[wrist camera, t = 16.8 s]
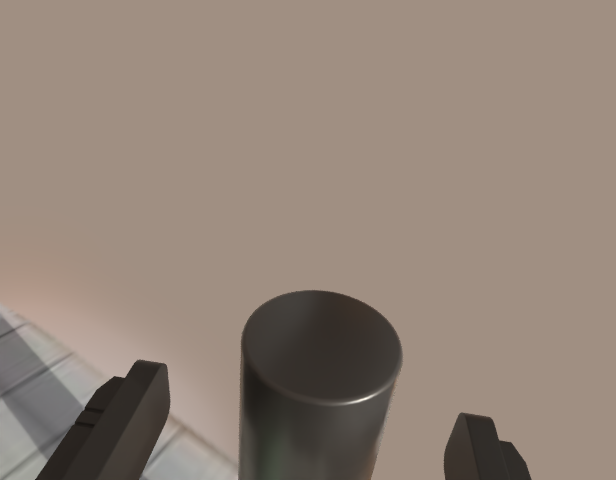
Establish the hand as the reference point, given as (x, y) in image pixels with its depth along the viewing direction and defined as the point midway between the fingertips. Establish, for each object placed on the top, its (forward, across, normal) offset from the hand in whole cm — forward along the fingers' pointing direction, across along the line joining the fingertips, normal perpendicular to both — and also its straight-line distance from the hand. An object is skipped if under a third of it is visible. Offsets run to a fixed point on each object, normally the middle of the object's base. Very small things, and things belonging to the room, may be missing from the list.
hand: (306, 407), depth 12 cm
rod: (-2, 0, +14) cm, 14 cm away
